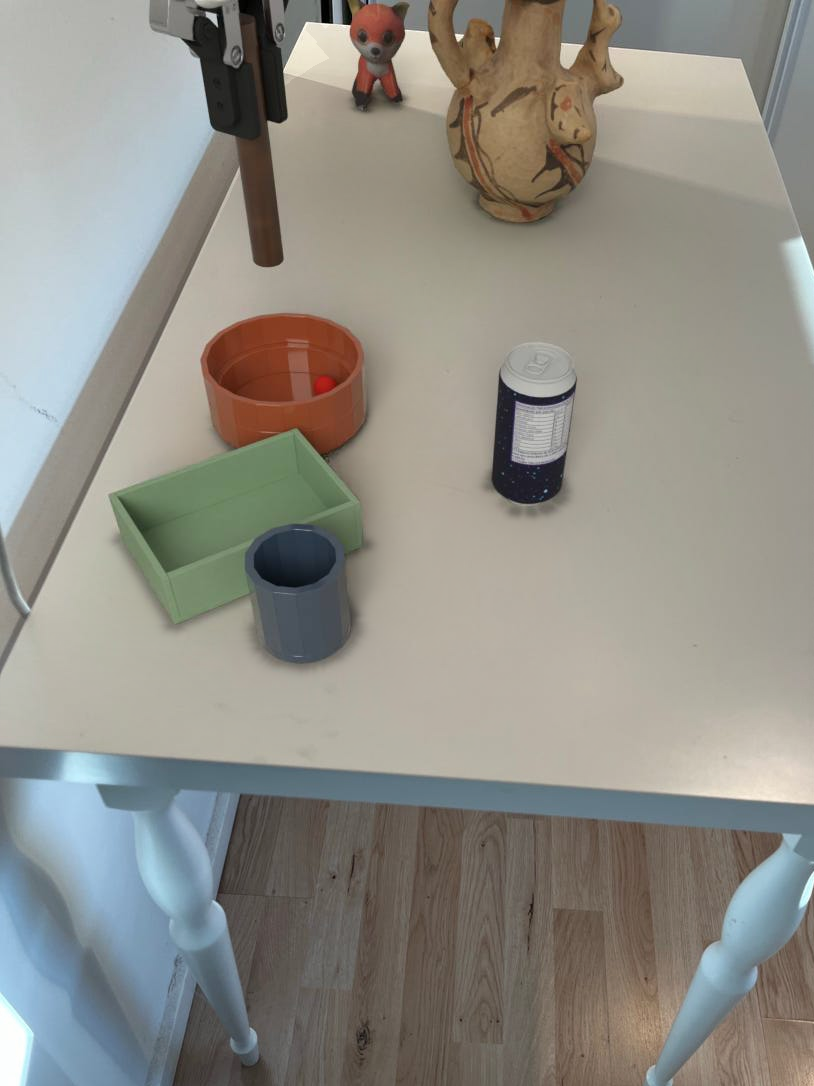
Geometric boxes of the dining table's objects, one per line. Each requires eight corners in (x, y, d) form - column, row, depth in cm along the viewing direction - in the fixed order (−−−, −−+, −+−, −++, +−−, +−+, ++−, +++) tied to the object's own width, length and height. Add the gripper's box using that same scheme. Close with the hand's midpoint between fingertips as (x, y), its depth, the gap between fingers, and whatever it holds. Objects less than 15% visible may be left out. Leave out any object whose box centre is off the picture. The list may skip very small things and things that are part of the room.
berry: (321, 406, 83) (319, 386, 82) (310, 394, 84) (308, 374, 83) (342, 399, 84) (340, 379, 83) (330, 387, 85) (329, 368, 84)
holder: (284, 678, 65) (272, 608, 60) (242, 616, 69) (227, 545, 63) (367, 640, 68) (363, 569, 63) (323, 582, 71) (315, 510, 66)
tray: (175, 624, 68) (161, 580, 65) (122, 539, 73) (107, 494, 70) (363, 546, 74) (360, 501, 70) (302, 472, 79) (296, 427, 76)
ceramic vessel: (575, 260, 103) (610, -14, 84) (404, 228, 106) (401, -45, 87) (609, 186, 114) (646, -69, 95) (454, 159, 117) (461, -95, 98)
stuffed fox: (411, 81, 132) (410, -22, 123) (409, 116, 125) (409, 9, 115) (355, 79, 131) (350, -24, 122) (350, 114, 124) (344, 7, 115)
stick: (260, 270, 63) (226, 27, 52) (247, 256, 64) (212, 15, 53) (289, 263, 64) (261, 21, 53) (275, 249, 65) (245, 10, 54)
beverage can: (571, 479, 80) (590, 351, 71) (544, 521, 77) (561, 393, 67) (508, 458, 81) (519, 330, 72) (479, 498, 78) (487, 370, 69)
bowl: (254, 486, 78) (243, 424, 73) (188, 400, 84) (175, 339, 80) (394, 434, 83) (393, 373, 78) (322, 357, 89) (316, 297, 85)
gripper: (231, -330, 49) (275, 68, 63) (-4, -298, 40) (108, 161, 54) (358, -313, 47) (374, 94, 61) (142, -275, 38) (219, 195, 52)
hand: (249, 123), depth 57 cm, fingers closed on stick, 2 cm apart
